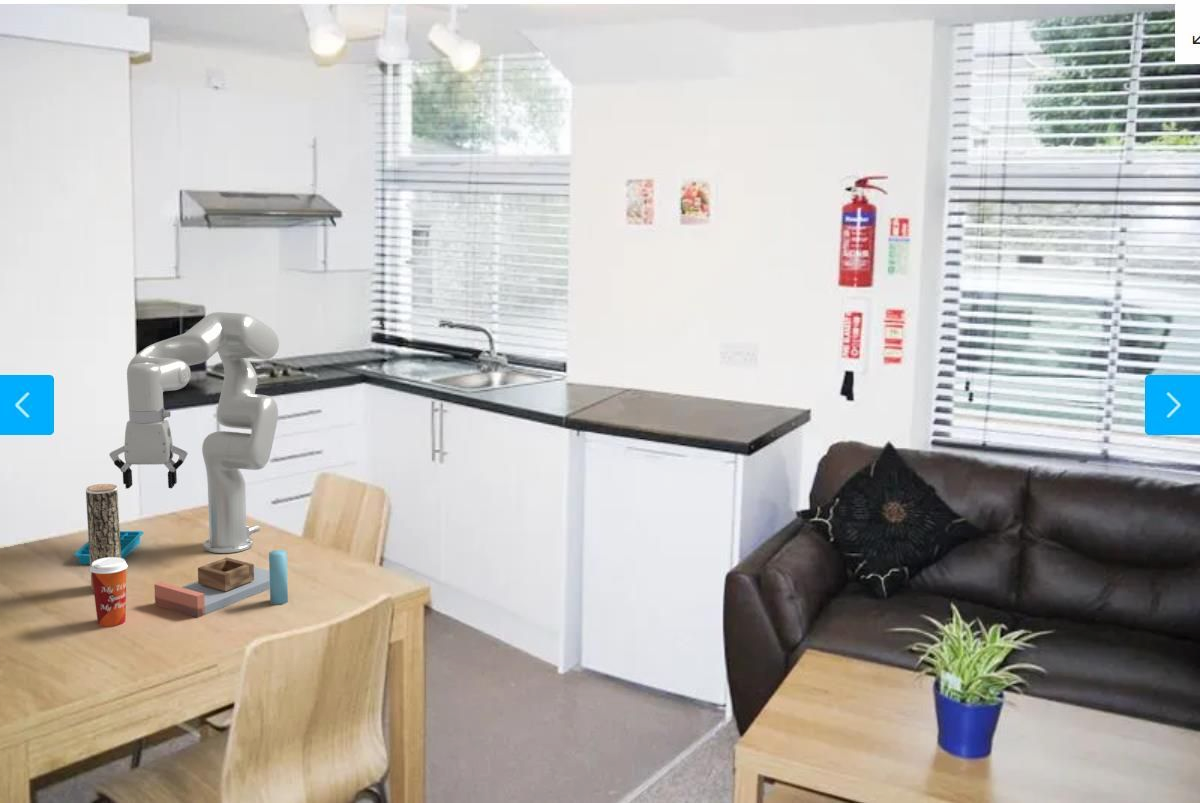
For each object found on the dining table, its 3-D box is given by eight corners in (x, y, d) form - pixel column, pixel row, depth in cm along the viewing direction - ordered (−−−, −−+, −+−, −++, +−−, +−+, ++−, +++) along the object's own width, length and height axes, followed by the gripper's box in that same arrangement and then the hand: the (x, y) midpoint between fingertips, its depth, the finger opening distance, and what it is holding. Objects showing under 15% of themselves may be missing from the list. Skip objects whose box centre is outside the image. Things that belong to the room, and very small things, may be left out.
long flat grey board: (243, 571, 280) (242, 552, 279) (284, 582, 273) (284, 563, 272) (155, 604, 256) (154, 584, 255) (198, 617, 250) (197, 596, 249)
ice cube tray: (145, 541, 301) (144, 531, 301) (120, 566, 281) (120, 555, 281) (101, 541, 300) (100, 530, 299) (73, 566, 280) (72, 555, 280)
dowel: (279, 597, 263) (277, 549, 261) (291, 600, 262) (290, 552, 259) (266, 602, 260) (265, 553, 258) (279, 605, 258) (278, 556, 256)
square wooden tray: (227, 572, 272) (226, 557, 271) (254, 580, 267) (253, 564, 267) (198, 583, 264) (197, 567, 263) (225, 591, 260) (225, 575, 259)
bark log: (127, 584, 268) (122, 484, 264) (112, 594, 262) (107, 492, 257) (101, 582, 269) (95, 483, 264) (85, 592, 262) (79, 490, 258)
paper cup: (106, 631, 240) (103, 570, 238) (85, 623, 244) (81, 563, 242) (138, 620, 247) (135, 560, 244) (117, 612, 251) (114, 553, 248)
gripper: (189, 412, 262) (192, 482, 266) (112, 412, 260) (116, 482, 263) (181, 419, 255) (184, 491, 258) (102, 419, 253) (107, 491, 256)
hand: (150, 486), depth 261 cm, fingers open, 9 cm apart
